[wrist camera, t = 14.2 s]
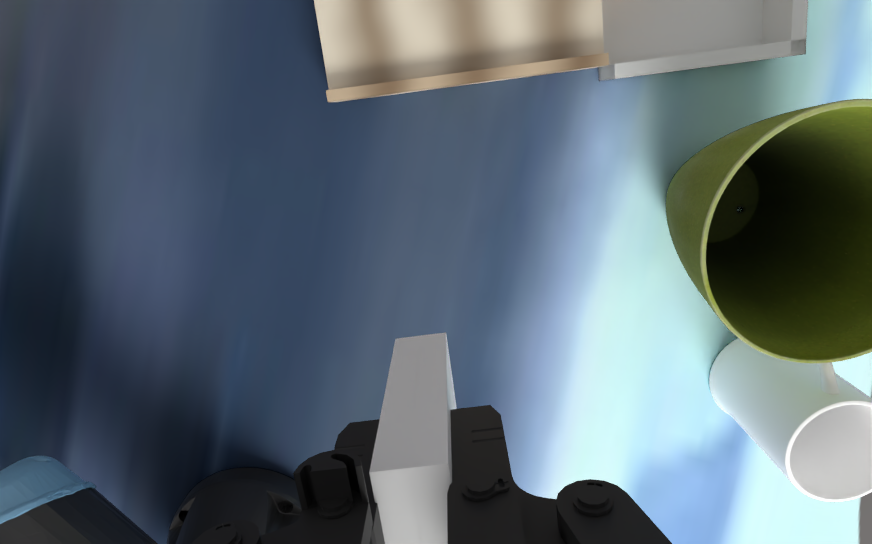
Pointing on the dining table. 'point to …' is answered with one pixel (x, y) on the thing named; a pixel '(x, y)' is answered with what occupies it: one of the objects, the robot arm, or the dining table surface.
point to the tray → (698, 34)
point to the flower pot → (784, 231)
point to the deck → (452, 42)
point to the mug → (799, 419)
